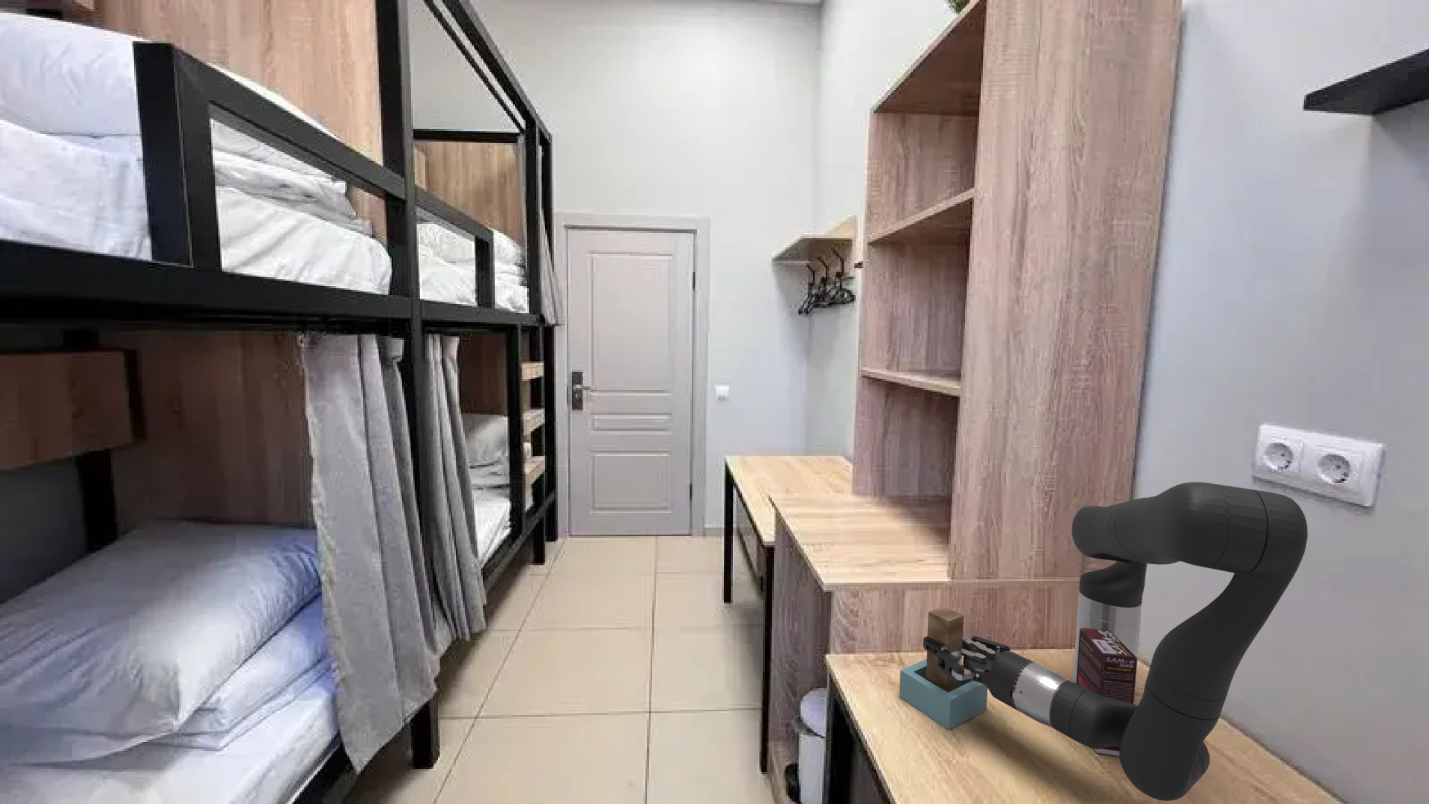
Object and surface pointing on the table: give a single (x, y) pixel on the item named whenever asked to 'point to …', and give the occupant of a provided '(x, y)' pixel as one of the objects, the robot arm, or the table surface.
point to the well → (942, 697)
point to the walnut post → (948, 632)
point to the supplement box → (1106, 669)
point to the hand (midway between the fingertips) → (933, 638)
